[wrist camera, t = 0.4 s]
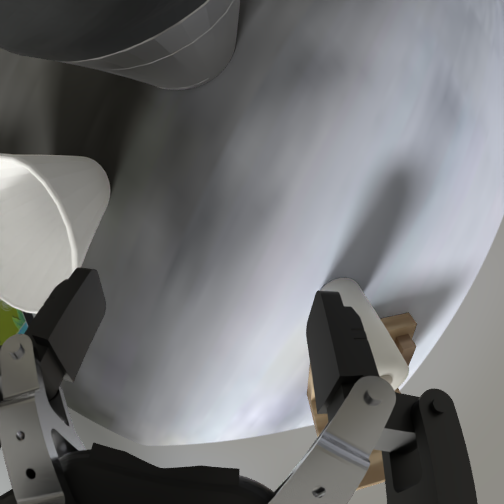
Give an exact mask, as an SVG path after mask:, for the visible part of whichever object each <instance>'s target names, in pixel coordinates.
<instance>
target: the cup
mask: <svg viewBox="0 0 504 504" xmlns="http://www.w3.org/2000/svg"><path fill="white" fill-rule="evenodd" d="M109 199H110V183H109V180H108V177H107V174H106V172H105V171H104V169H103V168H102V166H101V165H99V164H98V163H97V162H96V161H95V160H93V159H91V158H88V157H83V156H66V155H13V154H3V153H0V299H1V300H3V301H4V302H6V303H7V304H9V305H10V306H12V307H14V308H16V309H19V310H21V311H24V312H27V313H36V314H37V313H38V311H39V310H40V308H41V307H42V306H44V302H45V301H46V299H47V298H49V295H50V294H51V292H52V291H53V290H54V288H55V287H56V286H57V285H58V284H60V283H61V282H62V281H64V280H65V279H69V277H70V276H71V274H72V273H73V272H74V270H75V269H76V268H78V267H80V268H81V265H82V263H83V260H84V258H85V255H86V253H87V250H88V248H89V245H90V243H91V241H92V238H93V236H94V234H95V231H96V229H97V227H98V225H99V223H100V220H101V218H102V216H103V214H104V212H105V210H106V208H107V205H108V202H109Z"/></svg>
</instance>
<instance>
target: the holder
mask: <svg viewBox="0 0 504 504" xmlns="http://www.w3.org/2000/svg"><path fill="white" fill-rule="evenodd" d="M381 321H382V323H383V324H384V326H385V328H386V329H387V331H388V333H389V334H390V336H391V338H392V339H393V341H394V343H395V344H396V346H397V348H398V349H399V351H400V353H401V354H402V356H403V358H404V360H405V361H406V363H407V365H408V366H409V363H410V361H411V359H412V356H413V354H414V351H415V348H416V345H415V343H414V342H413V340H412V337H413V334H414V331H415V328H416V325H417V323H416V322H415V320H414V319H413V318H412V316H411V315H410V314H409V313H405V314H400V315H395V316H391V317H386V318H381ZM394 391H395V392H397V393H400V391H399V389H398V388H397V389H396V390H394ZM307 396H308V400H309V404H310V408H311V412H312V416H313V421H314V425H315V429H316V433H317V437H318V436H319V435H320V433H321V432H322V431H323V429H324V428H325V426H326V425H327V423H328V415H327V414H317V408H316V400H315V393H314V385H313V378H312V371H311V364H310V369H309V379H308V389H307ZM369 461H370V466H369V468H368V470H367V472H366V474H365V476H364V478H363V479H362V481H361V483H360V484H359V486H358V488H357V489H356V490H359V489H362V488H366V487H369V486H372V485H375V484H379V483H382V482H385V475H384V467H383V459H382V451H380V450H374V449H373V451H372V453H371V455H370V457H369Z"/></svg>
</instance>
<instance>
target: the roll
mask: <svg viewBox="0 0 504 504" xmlns="http://www.w3.org/2000/svg"><path fill="white" fill-rule="evenodd" d="M320 291H335V292H339V293H340V296H341V299H342V302H343V305H344V306H348V307H352V308H353V309H354V310H355V311H356V313H357V314H358V315H359V316H360V318H361V321H362V324H363V327H364V331H365V332H366V335H367V340H368V341H369V345H370V348H371V351H372V354H373V357H374V360H375V363H376V367H377V370H378V373H379V376H380V378H383V379H384V380H386V381H387V382H388V383H389V384H390V385H391V386H392V387H393V389H394V390H396V389H397V388H398V387H399V386H400V385H401V384H402V383H403V382H404V381H405V379H406V378H407V376H408V373H409V367H408V365H407V363H406V361H405V360H404V358H403V356H402V354H401V353H400V351H399V349H398V348H397V346H396V344H395V343H394V341H393V339H392V338H391V336H390V334H389V333H388V331H387V329H386V328H385V326H384V324H383V323H382V321H381V319H380V318H379V316H378V315H377V313H376V311H375V310H374V308H373V307H372V305H371V303H370V302H369V300H368V299H367V297H366V296H365V294H364V293H363V291H362V289H361V288H360V286H359V285H358V283H357V282H356V281H354V280H352V279H350V278H338V279H334V280H332V281H330V282H328V283H327V284H326V285H324V286H323V287H322V288H321V290H320Z"/></svg>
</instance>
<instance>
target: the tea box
mask: <svg viewBox="0 0 504 504" xmlns="http://www.w3.org/2000/svg"><path fill="white" fill-rule="evenodd" d="M35 316H36V313H27V312H24V311H21V310H19V309H16V308H14V307H12V306H10V305H9V304H7V303H6V302H4V301H3V300H1V299H0V345H3V343H4V342H5V341H6V340H7V339H8V338H9V337H11V336H13V335H15V334H24V333H25V331H26V330H27V328H28V327H29V325H30V323H31V322H32V320H33V319H34V317H35Z"/></svg>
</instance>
